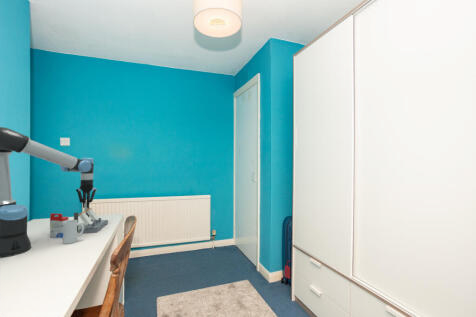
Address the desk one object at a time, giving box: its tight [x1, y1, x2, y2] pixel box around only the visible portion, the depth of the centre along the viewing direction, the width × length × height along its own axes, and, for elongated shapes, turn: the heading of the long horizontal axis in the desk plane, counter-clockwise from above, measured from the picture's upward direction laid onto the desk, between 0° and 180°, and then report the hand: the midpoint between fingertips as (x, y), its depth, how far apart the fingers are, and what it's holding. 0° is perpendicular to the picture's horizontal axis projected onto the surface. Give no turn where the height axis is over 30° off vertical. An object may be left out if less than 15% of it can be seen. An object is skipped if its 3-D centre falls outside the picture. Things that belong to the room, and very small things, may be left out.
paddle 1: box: [78, 211, 93, 226], centre depth 151 cm, size 4×2×10 cm
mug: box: [62, 219, 85, 245], centre depth 132 cm, size 10×7×12 cm, turn 118°
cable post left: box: [73, 212, 79, 232], centre depth 150 cm, size 7×2×12 cm, turn 13°
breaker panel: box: [79, 217, 109, 234], centre depth 158 cm, size 21×10×5 cm, turn 13°
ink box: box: [49, 213, 69, 239], centre depth 141 cm, size 8×5×15 cm, turn 84°
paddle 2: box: [86, 207, 100, 221], centre depth 162 cm, size 4×2×10 cm
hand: (85, 212), depth 161 cm, fingers closed
